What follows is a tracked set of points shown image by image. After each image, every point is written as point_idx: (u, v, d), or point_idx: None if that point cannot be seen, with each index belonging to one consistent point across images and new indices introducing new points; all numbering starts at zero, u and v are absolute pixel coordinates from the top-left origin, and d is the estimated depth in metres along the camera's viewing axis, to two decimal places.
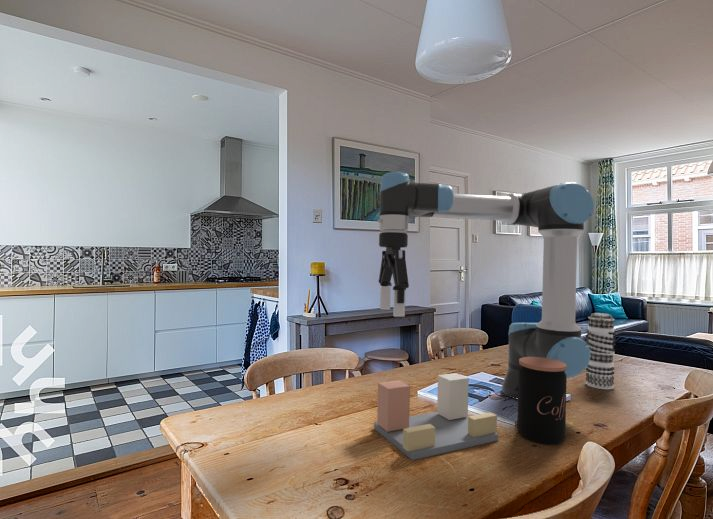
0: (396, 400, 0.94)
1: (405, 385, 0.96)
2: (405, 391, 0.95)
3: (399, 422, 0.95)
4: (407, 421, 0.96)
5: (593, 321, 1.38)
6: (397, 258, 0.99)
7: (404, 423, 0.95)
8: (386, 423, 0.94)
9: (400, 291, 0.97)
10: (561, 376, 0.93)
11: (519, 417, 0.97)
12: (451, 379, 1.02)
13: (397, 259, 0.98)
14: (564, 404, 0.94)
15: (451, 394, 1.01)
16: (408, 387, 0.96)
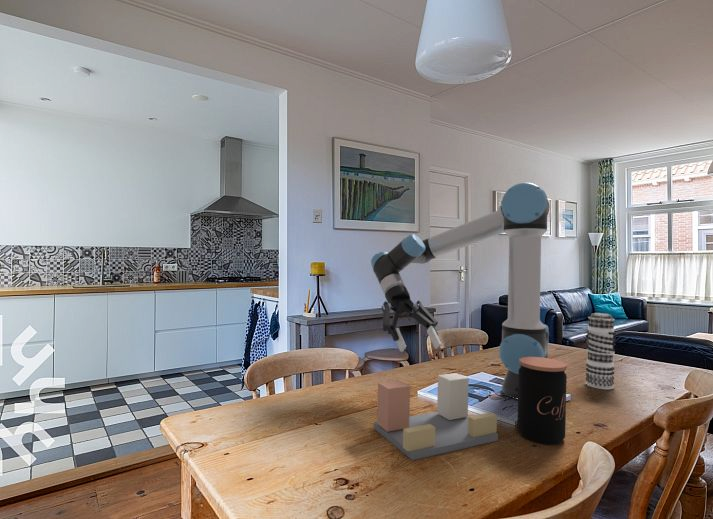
0: (396, 400, 0.94)
1: (405, 385, 0.96)
2: (405, 391, 0.95)
3: (399, 422, 0.95)
4: (407, 421, 0.96)
5: (593, 321, 1.38)
6: (383, 311, 1.24)
7: (404, 423, 0.95)
8: (386, 423, 0.94)
9: (390, 331, 1.18)
10: (561, 376, 0.93)
11: (519, 417, 0.97)
12: (451, 379, 1.02)
13: (383, 311, 1.24)
14: (564, 404, 0.94)
15: (451, 394, 1.01)
16: (408, 387, 0.96)
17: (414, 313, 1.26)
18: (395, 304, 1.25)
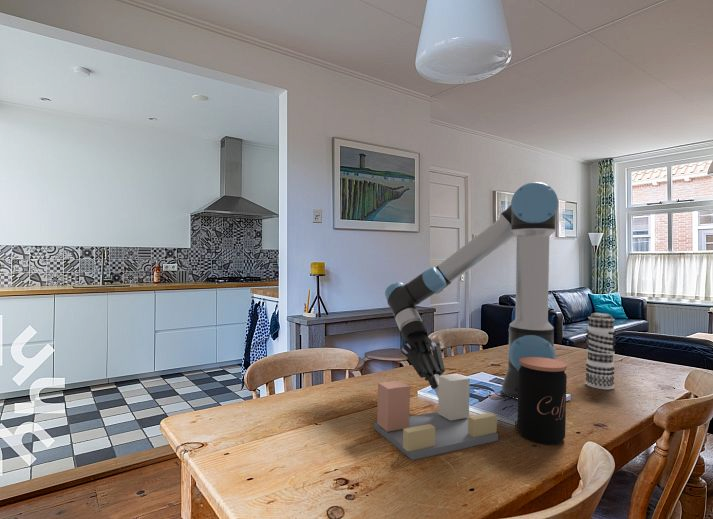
0: (396, 400, 0.94)
1: (405, 385, 0.96)
2: (405, 391, 0.95)
3: (399, 422, 0.95)
4: (407, 421, 0.96)
5: (593, 321, 1.38)
6: (406, 355, 1.15)
7: (404, 423, 0.95)
8: (386, 423, 0.94)
9: (428, 378, 1.11)
10: (561, 376, 0.93)
11: (519, 417, 0.97)
12: (452, 379, 1.02)
13: (407, 356, 1.15)
14: (564, 404, 0.94)
15: (452, 395, 1.01)
16: (408, 387, 0.96)
17: (426, 353, 1.16)
18: (412, 342, 1.17)
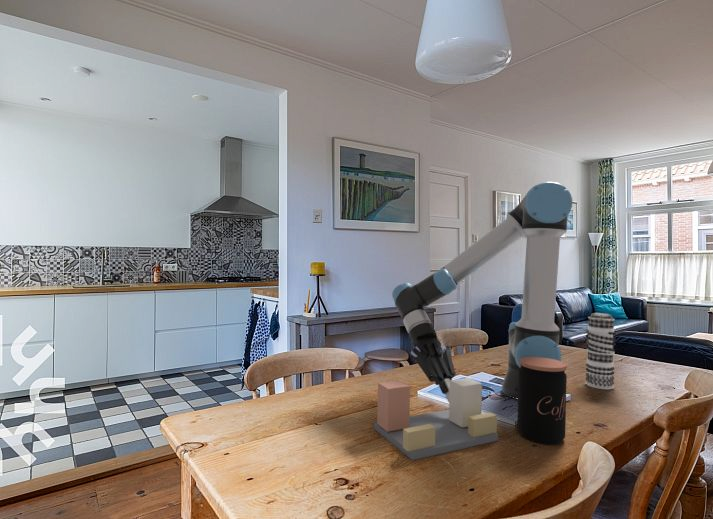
0: (396, 400, 0.94)
1: (405, 385, 0.96)
2: (405, 391, 0.95)
3: (399, 422, 0.95)
4: (407, 421, 0.96)
5: (593, 321, 1.38)
6: (415, 358, 1.11)
7: (404, 423, 0.95)
8: (386, 423, 0.94)
9: (438, 383, 1.07)
10: (561, 376, 0.93)
11: (519, 417, 0.97)
12: (464, 385, 0.98)
13: (416, 359, 1.11)
14: (564, 404, 0.94)
15: (464, 401, 0.97)
16: (408, 387, 0.96)
17: (436, 356, 1.12)
18: (422, 345, 1.13)
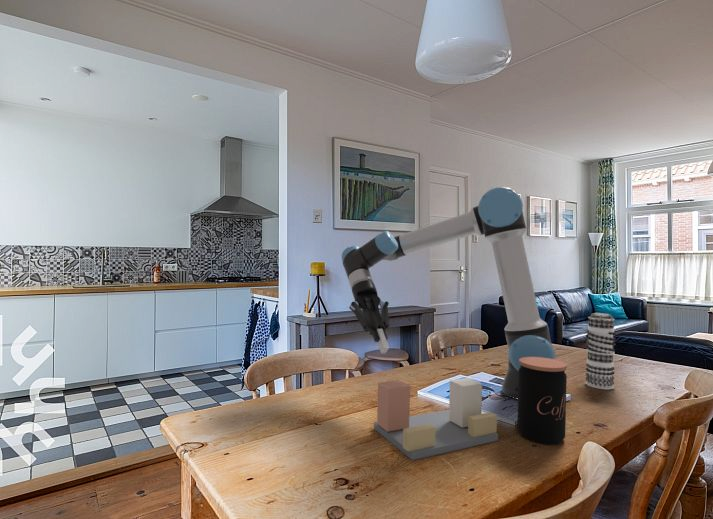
0: (396, 400, 0.94)
1: (405, 385, 0.96)
2: (405, 391, 0.95)
3: (399, 422, 0.95)
4: (407, 421, 0.96)
5: (593, 321, 1.38)
6: (354, 311, 1.21)
7: (404, 423, 0.95)
8: (386, 423, 0.94)
9: (372, 332, 1.17)
10: (561, 376, 0.93)
11: (519, 417, 0.97)
12: (464, 385, 0.98)
13: (354, 312, 1.21)
14: (564, 404, 0.94)
15: (464, 401, 0.97)
16: (408, 387, 0.96)
17: (373, 310, 1.22)
18: (361, 299, 1.22)
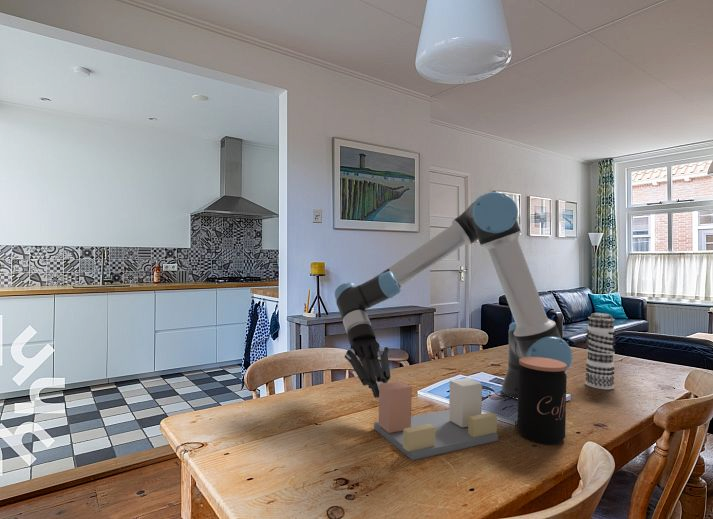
0: (398, 401, 0.94)
1: (407, 386, 0.96)
2: (406, 392, 0.95)
3: (400, 423, 0.94)
4: (409, 422, 0.95)
5: (593, 321, 1.38)
6: (350, 361, 1.07)
7: (406, 424, 0.95)
8: (388, 424, 0.93)
9: (371, 386, 1.03)
10: (561, 375, 0.93)
11: (519, 417, 0.97)
12: (464, 385, 0.98)
13: (350, 362, 1.07)
14: (564, 404, 0.94)
15: (464, 401, 0.97)
16: (410, 388, 0.95)
17: (372, 359, 1.08)
18: (357, 346, 1.09)
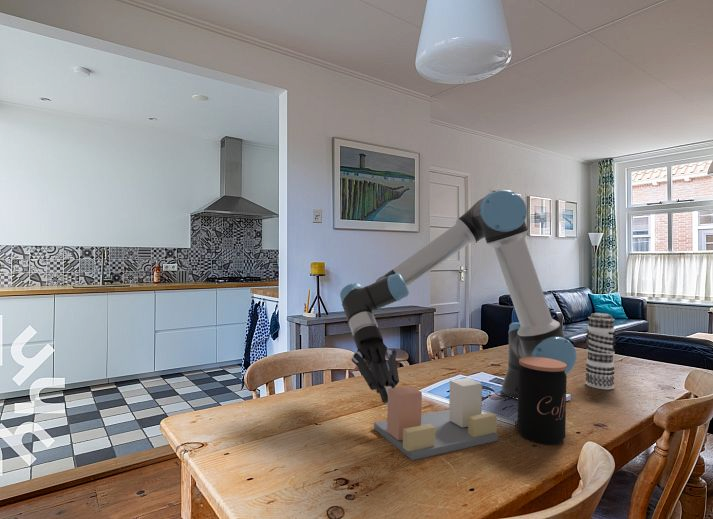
0: (407, 407, 0.90)
1: (416, 391, 0.92)
2: (416, 398, 0.91)
3: None
4: None
5: (593, 321, 1.38)
6: (357, 364, 1.03)
7: None
8: (397, 431, 0.89)
9: (379, 391, 0.99)
10: (561, 376, 0.93)
11: (519, 417, 0.97)
12: (464, 385, 0.98)
13: (357, 365, 1.03)
14: (564, 404, 0.93)
15: (464, 401, 0.97)
16: (420, 393, 0.91)
17: (380, 362, 1.04)
18: (365, 349, 1.05)
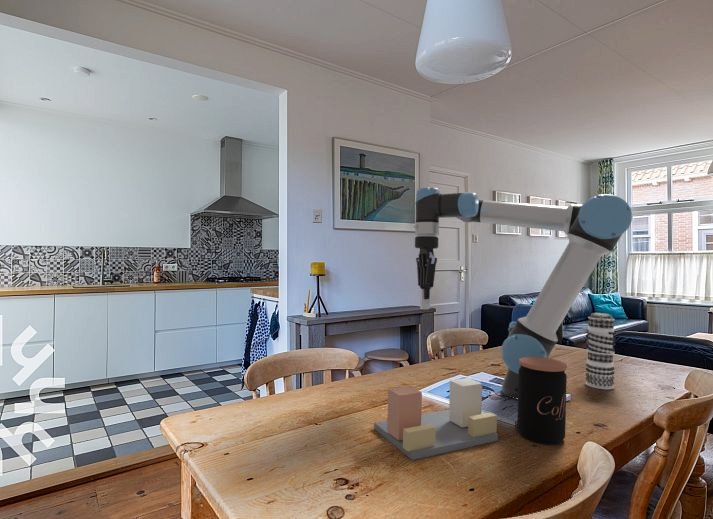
0: (407, 407, 0.90)
1: (417, 391, 0.92)
2: (416, 398, 0.91)
3: None
4: None
5: (593, 321, 1.38)
6: (429, 264, 1.24)
7: None
8: (397, 431, 0.89)
9: (426, 290, 1.28)
10: (561, 376, 0.93)
11: (519, 417, 0.97)
12: (464, 385, 0.98)
13: (429, 265, 1.24)
14: (564, 404, 0.94)
15: (464, 401, 0.97)
16: (420, 393, 0.91)
17: None
18: None
